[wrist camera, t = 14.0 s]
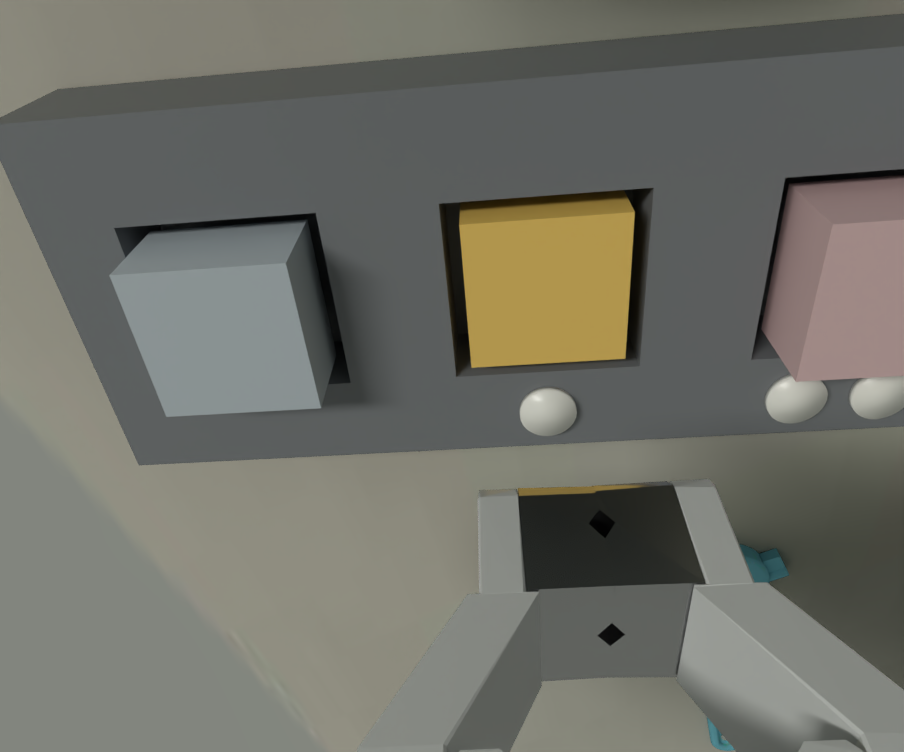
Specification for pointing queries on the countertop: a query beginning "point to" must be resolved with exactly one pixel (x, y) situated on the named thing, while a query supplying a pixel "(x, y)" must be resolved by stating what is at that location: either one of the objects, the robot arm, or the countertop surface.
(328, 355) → the button none
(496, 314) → the button one
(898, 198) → the button two
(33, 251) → the countertop surface
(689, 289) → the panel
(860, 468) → the countertop surface
